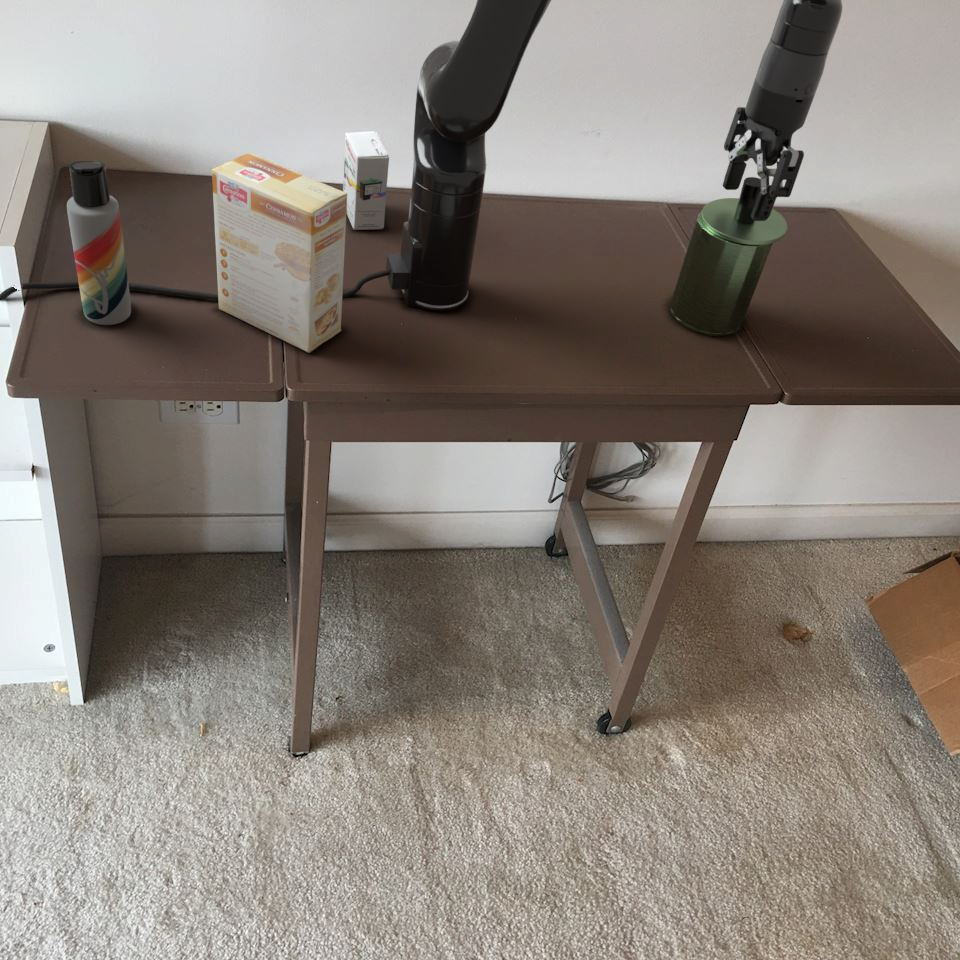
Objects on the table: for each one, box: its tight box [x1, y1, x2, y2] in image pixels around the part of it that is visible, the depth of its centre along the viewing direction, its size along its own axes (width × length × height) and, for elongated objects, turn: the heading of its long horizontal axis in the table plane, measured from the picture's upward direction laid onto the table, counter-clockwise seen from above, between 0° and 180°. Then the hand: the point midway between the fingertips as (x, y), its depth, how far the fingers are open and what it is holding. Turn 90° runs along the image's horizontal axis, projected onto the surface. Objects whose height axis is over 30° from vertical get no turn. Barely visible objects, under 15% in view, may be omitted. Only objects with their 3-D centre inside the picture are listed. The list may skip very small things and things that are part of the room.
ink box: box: [342, 130, 390, 231], centre depth 146 cm, size 8×5×12 cm, turn 18°
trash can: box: [669, 211, 774, 337], centre depth 138 cm, size 11×11×14 cm
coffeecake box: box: [211, 152, 347, 354], centre depth 120 cm, size 15×7×20 cm, turn 59°
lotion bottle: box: [66, 160, 132, 326], centre depth 116 cm, size 6×6×20 cm
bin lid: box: [701, 176, 788, 245], centre depth 131 cm, size 12×12×7 cm
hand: (743, 203), depth 131 cm, fingers open, 8 cm apart
